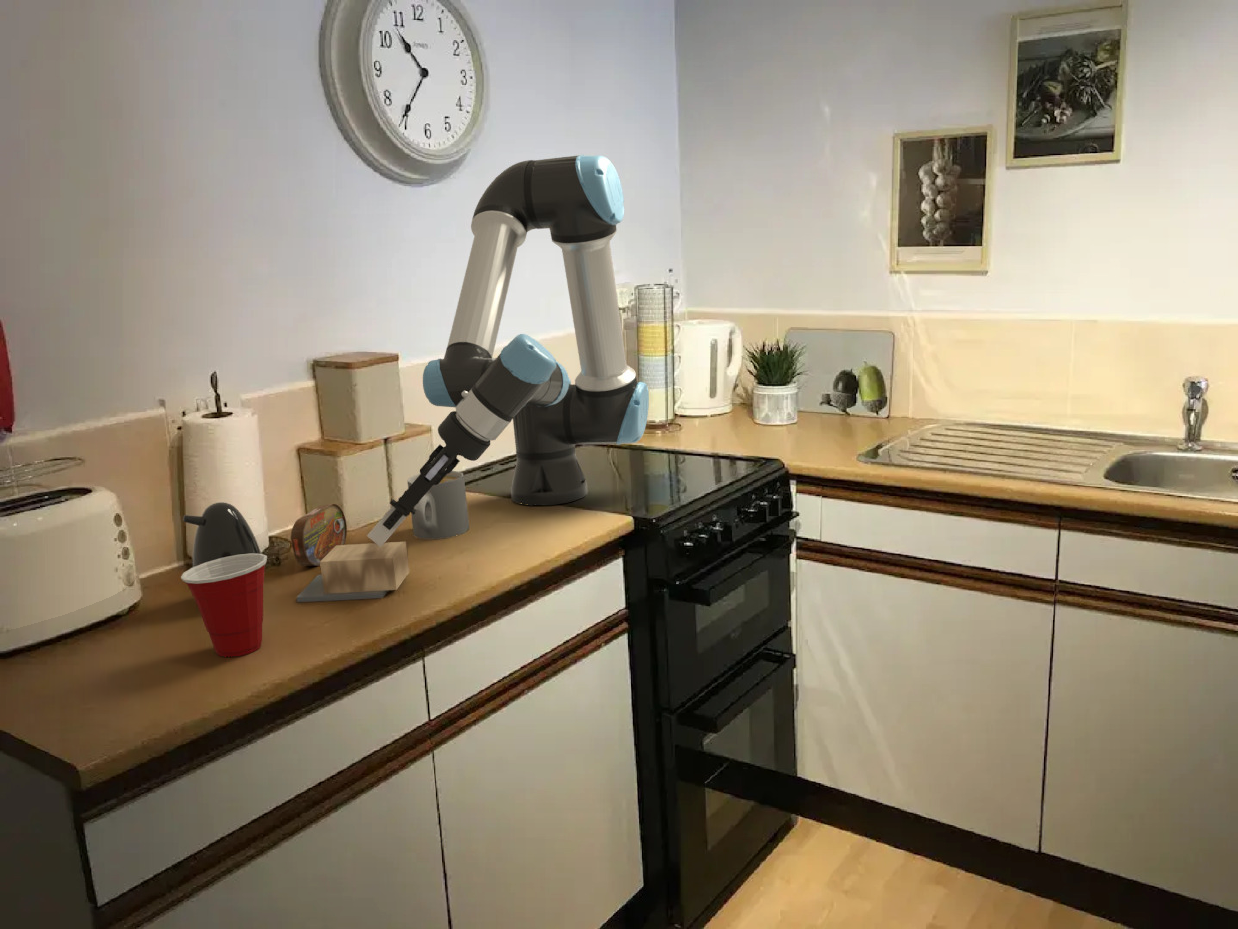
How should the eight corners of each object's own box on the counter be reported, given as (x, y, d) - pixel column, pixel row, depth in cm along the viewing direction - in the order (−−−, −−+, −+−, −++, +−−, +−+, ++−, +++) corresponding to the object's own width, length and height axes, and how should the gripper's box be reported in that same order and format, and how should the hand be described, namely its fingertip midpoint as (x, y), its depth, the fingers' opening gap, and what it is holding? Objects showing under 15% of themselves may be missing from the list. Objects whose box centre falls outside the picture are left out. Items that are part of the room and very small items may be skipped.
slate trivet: (399, 575, 163) (398, 570, 163) (382, 598, 153) (382, 592, 153) (318, 579, 164) (318, 574, 163) (297, 602, 154) (296, 597, 154)
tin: (309, 572, 168) (302, 523, 166) (292, 572, 168) (284, 523, 166) (351, 544, 182) (344, 498, 180) (334, 544, 182) (328, 498, 181)
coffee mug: (435, 521, 192) (429, 469, 190) (479, 524, 188) (474, 471, 186) (390, 543, 181) (383, 487, 178) (436, 547, 176) (430, 490, 174)
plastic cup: (230, 630, 144) (217, 549, 142) (296, 635, 141) (284, 551, 138) (176, 662, 134) (160, 575, 132) (245, 668, 131) (231, 579, 128)
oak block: (405, 541, 160) (336, 545, 161) (392, 558, 153) (319, 561, 153) (409, 572, 162) (340, 575, 162) (396, 589, 154) (324, 593, 154)
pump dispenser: (187, 600, 158) (170, 505, 155) (253, 582, 164) (239, 490, 161) (210, 616, 150) (193, 516, 147) (278, 597, 157) (264, 500, 153)
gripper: (461, 401, 158) (367, 512, 162) (444, 417, 145) (342, 537, 149) (499, 433, 158) (404, 542, 163) (485, 451, 146) (383, 569, 150)
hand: (375, 539), depth 156 cm, fingers closed
